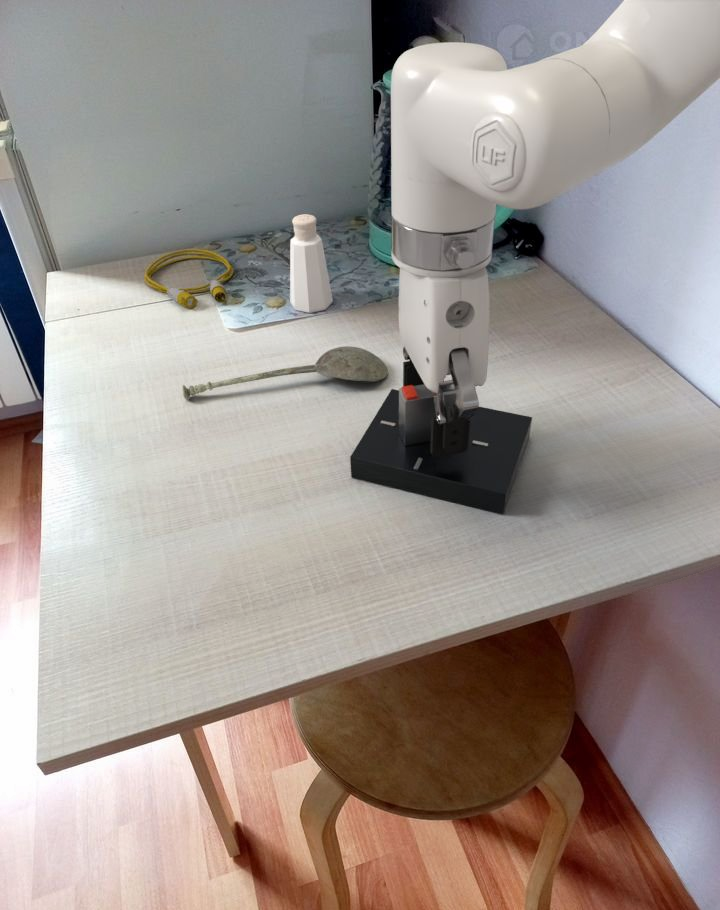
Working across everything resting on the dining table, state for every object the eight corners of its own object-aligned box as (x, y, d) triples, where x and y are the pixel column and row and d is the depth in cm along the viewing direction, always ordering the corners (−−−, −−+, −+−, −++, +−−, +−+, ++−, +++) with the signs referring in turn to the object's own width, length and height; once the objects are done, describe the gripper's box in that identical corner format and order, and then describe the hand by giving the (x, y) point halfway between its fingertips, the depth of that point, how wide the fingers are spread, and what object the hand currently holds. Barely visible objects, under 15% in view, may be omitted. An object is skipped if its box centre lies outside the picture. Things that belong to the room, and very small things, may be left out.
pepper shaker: (292, 292, 91) (283, 209, 84) (334, 292, 91) (329, 208, 84) (287, 313, 87) (277, 227, 80) (331, 313, 87) (325, 227, 80)
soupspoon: (394, 391, 75) (380, 361, 80) (395, 364, 73) (381, 334, 78) (184, 416, 72) (184, 382, 77) (179, 388, 70) (179, 355, 75)
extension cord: (129, 313, 89) (125, 298, 87) (157, 257, 101) (154, 244, 99) (225, 310, 88) (223, 295, 87) (242, 255, 100) (240, 241, 99)
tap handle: (460, 421, 66) (464, 375, 62) (467, 434, 64) (472, 387, 61) (398, 432, 65) (398, 386, 62) (404, 446, 63) (405, 399, 60)
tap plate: (529, 437, 68) (532, 415, 66) (503, 515, 60) (506, 492, 58) (391, 408, 72) (391, 387, 70) (351, 477, 64) (349, 455, 63)
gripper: (538, 282, 46) (509, 478, 58) (452, 189, 59) (443, 365, 71) (428, 298, 45) (422, 495, 57) (365, 200, 58) (370, 376, 70)
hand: (433, 422), depth 64 cm, fingers open, 7 cm apart
